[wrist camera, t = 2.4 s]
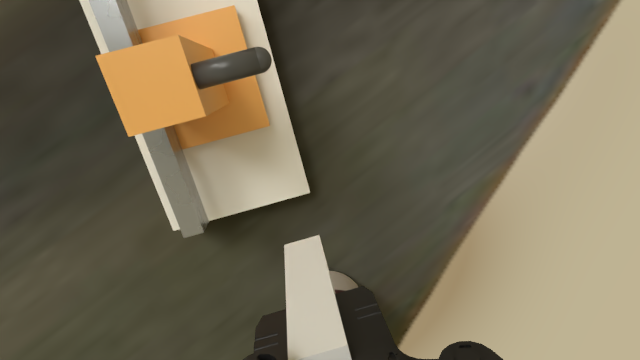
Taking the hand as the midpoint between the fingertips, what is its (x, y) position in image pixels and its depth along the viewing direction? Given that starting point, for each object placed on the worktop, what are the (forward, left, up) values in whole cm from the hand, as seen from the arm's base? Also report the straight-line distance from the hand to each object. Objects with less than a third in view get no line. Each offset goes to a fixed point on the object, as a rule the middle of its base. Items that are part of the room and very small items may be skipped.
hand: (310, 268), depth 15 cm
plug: (-9, -5, -17) cm, 19 cm away
